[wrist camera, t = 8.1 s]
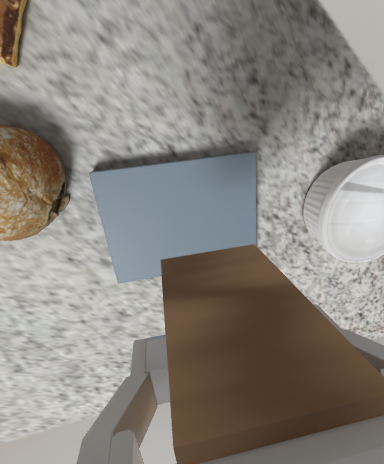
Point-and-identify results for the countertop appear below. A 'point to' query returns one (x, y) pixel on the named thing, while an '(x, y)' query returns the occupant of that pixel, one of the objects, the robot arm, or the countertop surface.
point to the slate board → (175, 210)
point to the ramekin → (349, 209)
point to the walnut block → (254, 358)
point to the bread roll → (28, 183)
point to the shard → (10, 30)
